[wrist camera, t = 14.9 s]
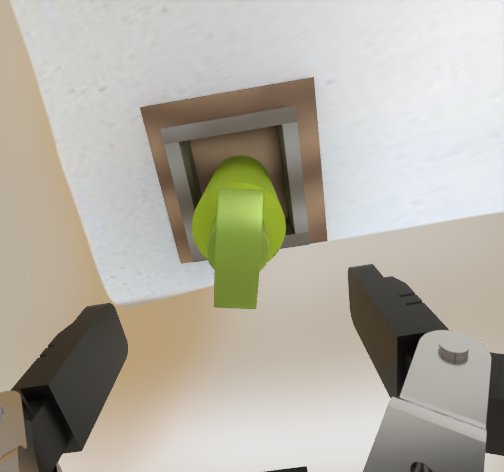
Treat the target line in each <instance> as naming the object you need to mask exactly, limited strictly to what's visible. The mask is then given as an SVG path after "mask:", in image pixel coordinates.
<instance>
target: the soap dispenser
mask: <svg viewBox="0 0 504 472" xmlns="http://www.w3.org/2000/svg"><path fill="white" fill-rule="evenodd" d="M285 232H286V222H285V216H284V213H283V210H282V208H281V205H280V203H279V200H278V197H277V195H276V192H275V190H274V187H273V185H272V182H271V179H270V177H269V174H268V172H267V170H266V169H265V167H264V166H263V165H262V164H261V163H260V162H259V161H257V160H256V159H254V158H251V157H248V156H233V157H230V158H228V159H226V160H225V161H223V162H222V163H221V164H220V165H219V166H218V167H217V168H216V170H215V172H214V174H213V176H212V178H211V180H210V182H209V184H208V186H207V188H206V189H205V191H204V193H203V195H202V197H201V199H200V201H199V203H198V205H197V207H196V209H195V212H194V215H193V219H192V233H193V238H194V241H195V243H196V245H197V247H198V249H199V251H200V252H201V253H202V254H203V256H204V257H205V258H206V259H208V261H209V263H210V265H211V266H212V267H213V269H214V270H215V281H214V307H218V308H219V307H220V308H242V309H256V303H257V292H258V281H259V272H260V271H261V270H262V269H263V267H264V266H265V265H266V263H267V262H268V261H269V260H270V259H272V258H273V257H274V256H275V254H276V253H277V252H278V251H279V249H280V247H281V245H282V243H283V241H284V237H285Z"/></svg>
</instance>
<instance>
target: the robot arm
mask: <svg viewBox="0 0 504 472" xmlns="http://www.w3.org/2000/svg"><path fill="white" fill-rule="evenodd" d="M348 282H349V300H350V312H351V317H352V320H353V324H354V326H355V328H356V330H357V332H358V334H359V336H360V338H361V340H362V342H363V344H364V346H365V348H366V350H367V352H368V354H369V356H370V358H371V360H372V362H373V364H374V366H375V368H376V370H377V372H378V374H379V376H380V378H381V380H382V382H383V384H384V386H385V388H386V390H387V392H388V394H389V396H390V398H391V400H390V402H389V404H388V406H387V409H386V412H385V414H384V417H383V420H382V423H381V425H380V428H379V431H378V433H377V436H376V438H375V441H374V444H373V446H372V449H371V452H370V454H369V457H368V460H367V462H366V465H365V468H364V471H363V472H484V460H485V453H491V454H497V455H502V456H504V354H496V353H491V352H489V350H488V349H487V348H486V347H485V346H484V345H483V344H482V343H480V342H479V341H478V340H476V339H475V338H473V337H471V336H469V335H466V334H464V333H460V332H456V331H450V330H448V328H447V327H446V326H445V325H444V324H443V323H442V322H441V321H440V320H439V319H438V318H437V316H436V315H435V314H434V313H433V312H432V311H431V310H430V309H429V308H428V307H427V306H426V305H425V304H424V303H422V300H421V299H420V298H419V297H418V296H417V295H415V293H414V292H413V291H412V289H411V288H410V287H409V286H408V285H407V284H406V283H404V282H402V281H400V280H398V279H396V278H394V277H385V278H384V277H383V276H382V275H381V274H380V272H379V271H378V270H377V269H376V268H375V266H374V265H373V264H369V265H363V266H356V267H350V268H349V269H348ZM127 353H128V344H127V339H126V337H125V334H124V331H123V328H122V326H121V323H120V320H119V317H118V315H117V312H116V310H115V307H114V306H113V305H112V304H111V303H107V304H100V305H93V306H87V307H86V308H85V309H84V310H83V311H82V313H81V314H80V315H79V316H78V317H77V319H76V320H75V321H74V322H73V323H72V324H71V325H69V326H68V327H67V328H65V329H64V330H63V331H61V332H60V333H59V334H58V335H57V336H56V337H55V338H54V339H53V340H52V342H51V343H50V344H49V345H48V348H46V349H45V350H44V351H43V352H42V354H41V355H40V358H37V359H36V361H35V362H34V363H33V364H32V365H31V367H30V368H29V369H28V370H27V371H26V373H25V374H24V375H23V376H22V377H21V379H20V380H19V381H18V382H17V383H16V385H15V386H14V387H13V388H12V389H11V390H10V391H6V392H1V393H0V472H62V470H61V467H60V466H59V464H58V461H59V459H60V457H61V455H62V454H63V453H71V452H78V451H82V449H83V447H84V445H85V443H86V441H87V439H88V437H89V435H90V433H91V430H92V428H93V427H94V424H95V422H96V420H97V418H98V416H99V414H100V412H101V410H102V408H103V406H104V404H105V401H106V400H107V397H108V395H109V393H110V391H111V389H112V387H113V385H114V383H115V381H116V379H117V377H118V374H119V373H120V370H121V368H122V366H123V364H124V362H125V360H126V357H127ZM267 472H307V467H298V468H290V469H282V470H275V471H267Z"/></svg>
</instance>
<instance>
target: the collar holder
mask: <svg viewBox="0 0 504 472" xmlns="http://www.w3.org/2000/svg"><path fill="white" fill-rule="evenodd" d="M140 109H141V113H142V117H143V121H144V124H145V128H146V132H147V136H148V140H149V144H150V147H151V151H152V155H153V159H154V163H155V166H156V170H157V174H158V178H159V182H160V185H161V189H162V193H163V197H164V201H165V205H166V208H167V212H168V216H169V220H170V224H171V227H172V231H173V235H174V239H175V243H176V247H177V250H178V254H179V258H180V262H181V263H187V262H198V261H204V260H208V259H206V258H205V257H204V256H203V254H202V253H201V252H200V251H199V249H198V247H197V245H196V243H195V241H194V238H193V233H192V219H193V215H194V212H195V209H196V207H197V205H198V203H199V201H200V199H201V197H202V195H203V193H204V191H205V189H206V188H207V186H208V184H209V182H210V180H211V178H212V176H213V174H214V172H215V170H216V168H217V167H218V166H219V165H220V164H221V163H222V162H223V161H225V160H226V159H228V158H230V157H233V156H248V157H251V158H254V159H256V160H257V161H259V162H260V163H261V164H262V165H263V166H264V167H265V169H266V170H267V172H268V174H269V177H270V179H271V182H272V185H273V187H274V190H275V192H276V195H277V197H278V200H279V203H280V205H281V208H282V210H283V213H284V216H285V222H286V232H285V237H284V241H283V243H282V245H281V247H280V249H282V248H289V247H295V246H301V245H308V244H310V243H317V242H323V241H327V230H326V218H325V206H324V195H323V183H322V171H321V159H320V147H319V135H318V123H317V111H316V99H315V87H314V77H312V78H307V79H301V80H295V81H289V82H284V83H278V84H272V85H266V86H261V87H255V88H249V89H243V90H238V91H232V92H226V93H220V94H215V95H209V96H203V97H197V98H192V99H186V100H180V101H174V102H169V103H163V104H157V105H151V106H146V107H140Z"/></svg>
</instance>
